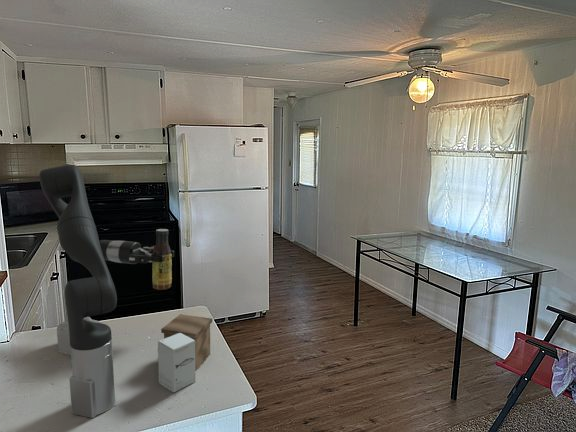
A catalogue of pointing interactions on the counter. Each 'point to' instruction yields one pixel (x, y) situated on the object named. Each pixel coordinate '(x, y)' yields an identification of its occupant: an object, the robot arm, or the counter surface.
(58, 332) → the lumpy-topped squat cylinder
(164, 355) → the supplement box
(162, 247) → the sauce bottle
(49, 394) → the counter surface
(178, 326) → the brown wooden box
